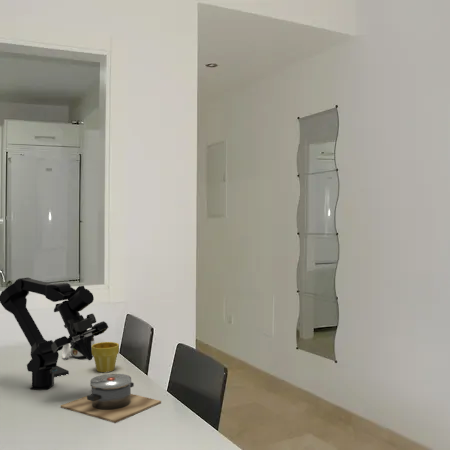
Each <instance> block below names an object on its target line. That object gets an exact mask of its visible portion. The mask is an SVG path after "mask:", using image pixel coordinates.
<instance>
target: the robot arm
mask: <svg viewBox="0 0 450 450" xmlns="http://www.w3.org/2000/svg"><path fill="white" fill-rule="evenodd" d="M30 293H34V294H39V295H43V296H45V298H46V299H47V300H49V301H51V302H53V303H55V306H54V309H53V313H58V312H59V314H60V317H61V319H62V321H63V323H64V324H63V327H64V329H66V331H67V332H68V334H69V336H68V337H67V336H66V335H63V336H61V337H59V338H56V339H55V340H54V341H53V340H52V339H51V340H47V339H45V338H44V336H43V334H42V333H41V332H42V331H40V329H39V327H38V325H37V323H36V322H35V320H34V318H33V317H32V315H31V313H30V311H29V310H28V308H27V301H28V300H27V296H29V294H30ZM61 301H62V302H61ZM56 302H60V303H56ZM93 302H94V294H93V292H91V291H90V290H89V289H88V288H85V286H84V285H79V286H78V287H76V289H75V288H74V287H71V284H70V283H68V282H59V283H50V282H47V281H42V280H37V279H33V278H30V277H21V278H18V279H16V280H15V281H14V282H13V283H12V284H10V285H8V286H7V287H6V288H4V290H2V291H1V293H0V304H1V306H2V307H3V309H4V310H6V311H8V312H9V313H10V314H12V315H13V317H14V318H15V321H16V322H17V324H18V326H19V327H20V329H21V331H22V333H23V334H24V336H25V338H26V340H27V342H28V344H29V346H30V358H31V359H30V360H29V362H28V363H27V364H26V368H27V372H31V387H30V390H49V389H51V387H53V385H54V384H55V377H54V372H52V368H53V367H56V365H57V363H58V360H59V356H60V354H59V351H63V348H64V345H67V344H69V343H70V344H71V347H70V348H74V349H76V350H77V351H78V352H80V353H81V354H82V355H83V356H85V357H86V358H85V359H87V360H88V361H91V360H93V355H92V350H91V341H92V338H94V337H96V336H99V335H102V334H104V333H105V331H107V330H108V328H109V326H108V323H107V322H106V321H104V320H103V321H100V322H97V319H96V316H95V314H94V313H89V314H87V315H86V317H84V315H83V314H80V312H81V311H83V310H84V309H85V308H87V307H88V306H90V305H91V304H92V303H93ZM87 329H89V330H87ZM84 334H85V335H84ZM57 366H58V365H57Z"/></svg>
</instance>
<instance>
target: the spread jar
mask: <svg viewBox="0 0 450 450" xmlns="http://www.w3.org/2000/svg"><path fill="white" fill-rule="evenodd" d="M89 329H90V328H89ZM89 329H87V330H89ZM84 335H85V334H84ZM93 344H95V338H94V337H93V338H92V341H91V350H92V345H93ZM70 347H71V344H70V343H69V344H67V345H64V346H63V348H62V350H61V351H62V352H61V357H62V359H66V360H67V359H69V357H70V356H72V358H73V359H78V360H81V359H87V358H86V357H85V356H83V355H82V354H81V353H80V352H78V351H77V350H76V349H74V348H70Z"/></svg>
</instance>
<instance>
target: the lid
mask: <svg viewBox="0 0 450 450" xmlns="http://www.w3.org/2000/svg"><path fill="white" fill-rule="evenodd" d="M89 381H90V388H92V387H93V388H95V389H102V390H110V389H118V388H123V387H126V386H128V385H130V384H131V382H132V376H130V375H128V374H124V373H108V374H101V375H98V376H93V378H91V379H90V380H89Z"/></svg>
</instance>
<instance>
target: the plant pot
mask: <svg viewBox="0 0 450 450" xmlns="http://www.w3.org/2000/svg"><path fill="white" fill-rule="evenodd" d="M119 353H120V345H119V343H118V342H114V341H104V342H103V341H102V342H96V343H94V344H93V345H92V357H93V360H94V364H95V368H96V371H97V372H98V373H109V372H113V371H114V370H115V369H116V364H117V363H116V362H117V357H118V354H119Z"/></svg>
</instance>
